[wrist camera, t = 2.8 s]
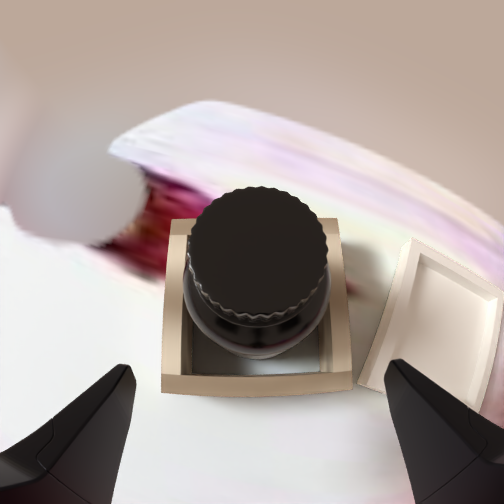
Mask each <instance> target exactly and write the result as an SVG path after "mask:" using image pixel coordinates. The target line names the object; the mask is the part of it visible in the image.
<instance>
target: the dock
mask: <svg viewBox="0 0 504 504" xmlns="http://www.w3.org/2000/svg"><path fill="white" fill-rule="evenodd" d="M503 302H504V291H502V290H501V289H499V288H498V287H496V286H495V285H493V284H492V283H490V282H488V281H487V280H485V279H484V278H482V277H481V276H479V275H477V274H476V273H474V272H472V271H471V270H469V269H468V268H466V267H464V266H463V265H461V264H459V263H458V262H456V261H454V260H452V259H451V258H449V257H447V256H445V255H444V254H442V253H440V252H438V251H437V250H435V249H433V248H431V247H429V246H428V245H426V244H424V243H422V242H420V241H418V240H417V239H415V238H413V237H412V238H411V239H410V240H409V241H408V242H407V243H406V244H404V245H403V246H402V248H401V252H400V256H399V260H398V264H397V268H396V272H395V275H394V279H393V282H392V286H391V289H390V293H389V296H388V299H387V303H386V306H385V309H384V312H383V315H382V318H381V321H380V324H379V327H378V330H377V333H376V335H375V338H374V341H373V344H372V346H371V349H370V351H369V354H368V357H367V359H366V362H365V364H364V367H363V369H362V372H361V374H360V376H359V379H358V381H357V383H356V384H359V385H361V386H364V387H367V388H369V389H372V390H375V391H378V392H381V393H383V394H386V389H385V384H384V374H385V372H386V369H387V367H388V364H389V362H390V361H391V360H393V359H399V358H401V359H403V360H404V361H406V362H407V363H409V364H410V365H411V366H413V367H414V368H416V369H417V370H418V371H420V372H421V373H422V374H424V375H425V376H427V377H428V378H429V379H431V380H432V381H434V382H435V383H436V384H438V385H439V386H440V387H442V388H443V389H445V390H446V391H447V392H449V393H450V394H452V395H453V396H454V397H456V398H457V399H459V400H460V401H461V402H463V403H464V404H465V405H467V406H468V407H470V408H471V409H472V410H474V411H475V412H477V413H478V414H479V411H480V408H481V405H482V402H483V399H484V396H485V392H486V389H487V385H488V382H489V378H490V374H491V370H492V366H493V362H494V358H495V353H496V348H497V343H498V337H499V332H500V325H501V319H502V311H503ZM386 395H387V394H386Z"/></svg>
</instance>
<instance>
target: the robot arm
mask: <svg viewBox="0 0 504 504" xmlns="http://www.w3.org/2000/svg"><path fill="white" fill-rule="evenodd" d="M384 384H385V389H386V394H387V398H388V403H389V408H390V413H391V417H392V420H393V424H394V427H395V430H396V433H397V436H398V440H399V443H400V446H401V450H402V453H403V457H404V460H405V464H406V468H407V471H408V475H409V479H410V483H411V487H412V491H413V495H414V499H415V504H504V429H503V428H501V427H499V426H497V425H496V424H494V423H492V422H491V421H489V420H487V419H486V418H484V417H483V416H481V415H480V414H478V413H477V412H475V411H474V410H472V409H471V408H470V407H468V406H467V405H465V404H464V403H463V402H461V401H460V400H459V399H457V398H456V397H454V396H453V395H452V394H450V393H449V392H447V391H446V390H445V389H443V388H442V387H440V386H439V385H438V384H436V383H435V382H434V381H432V380H431V379H429V378H428V377H427V376H425V375H424V374H422V373H421V372H420V371H418V370H417V369H416V368H414V367H413V366H411V365H410V364H409V363H407V362H406V361H404V360H403V359H401V358H399V359H393V360H391V361H390V362H389V364H388V367H387V369H386V372H385V374H384ZM135 391H136V379H135V377H134V374H133V372H132V369H131V367H130V366H129V365H126V364H118V365H116V366H115V367H114V368H113V369H111V370H110V371H109V372H108V373H106V374H105V375H104V376H103V377H102V378H100V379H99V380H98V381H97V382H95V383H94V384H93V385H92V386H91V387H89V388H88V389H87V390H86V391H84V392H83V393H82V394H81V395H80V396H78V397H77V398H76V399H75V400H73V401H72V402H71V403H70V404H69V405H67V406H66V407H65V408H64V409H62V410H61V411H60V412H59V413H58V414H56V415H55V416H54V417H53V419H52V418H51V419H50V420H49V421H48V422H46V423H45V424H44V425H43V426H41V427H40V428H39V429H37V430H36V431H35V432H33V433H32V434H30V435H29V436H27V437H26V438H24V439H23V440H21V441H20V442H18V443H16V444H15V445H13V446H12V447H10V448H8V449H7V450H5V451H3V452H1V453H0V504H111V502H112V497H113V492H114V488H115V483H116V479H117V474H118V470H119V466H120V462H121V457H122V453H123V449H124V445H125V442H126V438H127V434H128V430H129V426H130V422H131V417H132V410H133V404H134V397H135Z"/></svg>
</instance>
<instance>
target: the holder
mask: <svg viewBox="0 0 504 504" xmlns="http://www.w3.org/2000/svg"><path fill="white" fill-rule="evenodd" d="M317 219H318V221H319V222H320V223H321V224H322V225H323V232H324V233H325V235H326V236H327V240H326V244H327V246H328V249H329V251H328V254H327V260H328V263H329V267H330V272H331V294H330V299H329V303H328V306H327V309H326V311H325V313H324V316H323V317H322V319H321V321H320V322H319V324H318V336H319V359H320V372H307V373H291V374H264V375H219V374H193V373H192V340H193V319H192V317H191V315H190V313H189V311H188V309H187V306H186V303H185V299H184V295H183V272H184V267H185V263H186V260H187V251H188V248H189V246H188V239H189V237H190V236H191V228H192V227H193V226H194V225H195V224H196V219H172V222H171V230H170V239H169V248H168V258H167V269H166V281H165V294H164V309H163V329H162V360H161V393H170V394H182V395H197V396H221V397H265V396H289V395H304V394H316V393H327V392H336V391H344V390H352V389H353V386H352V357H351V338H350V324H349V311H348V300H347V290H346V280H345V271H344V263H343V255H342V248H341V240H340V234H339V227H338V220H337V218H317Z"/></svg>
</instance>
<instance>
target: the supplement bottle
mask: <svg viewBox="0 0 504 504" xmlns="http://www.w3.org/2000/svg"><path fill="white" fill-rule="evenodd" d="M326 240H327V236H326V235H325V233H324V232H323V225H322V224H321V223H320V222H319V221H318V219H317V216H316V214H315V213H314V212H312V211H310V209H309V207H308V205H306V204H304V203H302V202H301V201H300V200H299V199H298V197H295V196H291V195H290V194H289V193H288V192H286V191H279V190H278V189H276V188H266V187H263V186H260V187H256V188H255V187H247V188H245V189H236V190H234V191H233V192H230V193H225V194H224V195H222V197H220V198H217V199H215V200H213V202H212V203H211V205H209V206H207V207H205V208H204V210H203V213H202V214H201V215H199V216H198V217H197V219H196V224H195V225H194V226H193V227H192V228H191V236H190V237H189V239H188V246H189V248H188V251H187V260H186V263H185V267H184V272H183V295H184V299H185V303H186V306H187V309H188V311H189V313H190V315H191V317H192V319H193V321H194V322H195V324H196V325H197V326H198V328H199V329H200V330H201V331H202V332H203V333H204V334H205V335H206V336H207V337H208V338H209V339H211V340H212V341H213V342H215V343H216V344H218V345H219V346H221V347H222V348H224V349H225V350H227V351H229V352H231V353H232V354H234V355H237V356H239V357H242V358H247V359H266V358H270V357H274V356H276V355H278V354H280V353H282V352H284V351H286V350H288V349H290V348H292V347H293V346H295V345H297V344H298V343H300V342H301V341H302V340H304V339H305V338H306V337H307V336H308V335H309V334H310V333H311V332H312V331H313V330H314V329H315V328H316V326H317V325H318V324H319V322H320V321H321V319H322V317H323V316H324V313H325V311H326V309H327V306H328V303H329V299H330V294H331V272H330V267H329V263H328V260H327V254H328V251H329V249H328V246H327V244H326Z"/></svg>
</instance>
